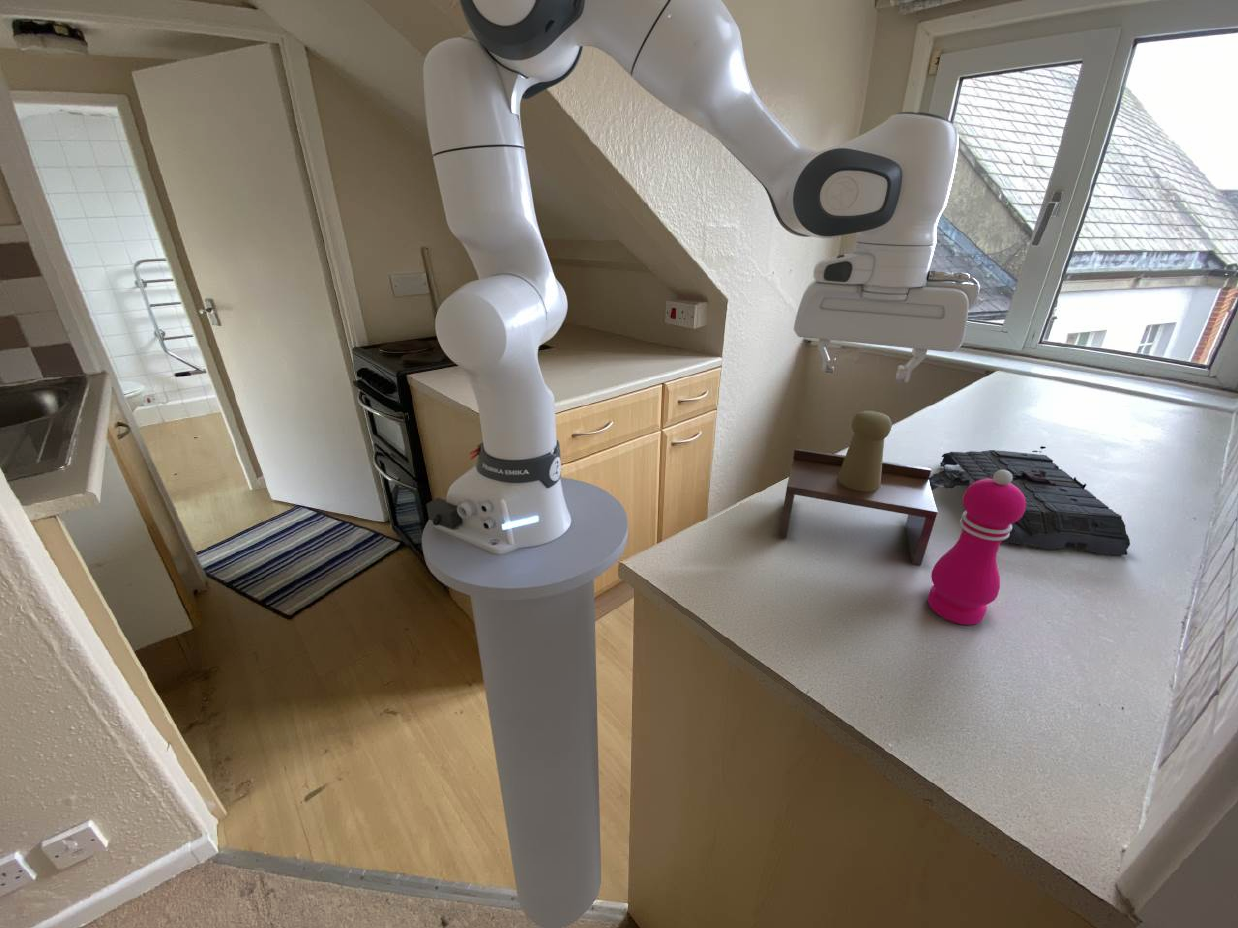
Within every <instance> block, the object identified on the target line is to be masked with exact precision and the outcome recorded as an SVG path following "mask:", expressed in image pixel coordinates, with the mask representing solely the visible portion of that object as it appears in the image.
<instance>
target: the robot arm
mask: <svg viewBox="0 0 1238 928" xmlns="http://www.w3.org/2000/svg"><path fill="white" fill-rule="evenodd" d="M459 3H460V7H461V10H462V13H463V16H464V18H465V21H466V22H467V25H468V26H469V29H468V30H467V32H465V33H464V34H462V35H461V37H453V38H448V39H445V40H442V41H440V42H439V43H437V44H436V45H434V46H433V47H432V48H431V49H430V50H429V51H428V53H427V55H426V56H425V58H424V61H423V65H422V66H423V67H422V80H423V82H422V83H423V99H424V112H425V119H426V126H427V134H428V139H429V140H428V141H429V145H430V150H431V155H432V159H433V164H434V169H435V173H436V177H437V183H438V188H439V192H440V197H441V201H442V207H443V210H444V215H445V220H446V224H447V226H448V228H449V230H450V232H451V233H452V235H453V236H454V237H455V238H456V239H457V240H458V241H460V243H461V244H462V246H463V248H465V251H466V252H467V254H468V256H469V258H470V260H471V262H472V265H473V267H474V269H475V272H476V275H477V277H478V279H475V280H472V281H469V282H466V283H465V284H463V285H461V286H460V287H459V288H458V289H456V290H455V291H454V292H452V293H451V294H450V295H449V296H448V297H447V298H446V299H444V300H443V302H442V303H441V304H440V305H439V307H438V309H437V312H436V316H435V323H434V325H435V327H434V328H435V334H436V338H437V341H438V343H439V345H440V347H441V349H442V351H443V352H444V354H445V355H446V356H447V357H448V358H449V360H451V361H452V362H453V363H454V364H456V365H457V366H459V367H460V368H461V369H462V370H463V372H464V374H465V375H466V377H467V380H468V382H469V384H470V386H471V388H472V391H473V394H474V397H475V401H476V405H477V410H478V416H479V423H480V428H481V429H480V431H481V437H482V442H481V443H479V444H478V445H476V446H477V447H476V448H475V449H473V450H471V451H470V452H469V453H468V455H470V457H469V460H471V461H472V460H473V459H475V458H476V457H478V458H477V461H476V464H474V465H473V466H472V467H471V468H469V469H468V470H467V471H466V472H464V473H463V474H462V475H460V476H459V477H458V478H457V479H455V481H454V482H452V484H451V485H450V486H449V488H448V489H447V494H446V499H443V498H441V497H436V498H434V499H433V500H430V501H429V502H427V503H426V504H425V506H426V510H427V515H428V521H429V520H432V521H433V524H434V527H435V528H436V529H438V530H441V531H443V532H445V533H447V534H450V535H452V536H454V537H457V538H459V539H461V540H463V541H466V542H468V543H470V544H472V545H475V546H477V547H479V548H481V549H484V550H486V551H488V552H491V553H493V554H496V555H501V554H505V553H508V552H511V551H514V550H516V549H521V548H528V547H534V546H539V545H543V544H546V543H549V542H551V541H553V540H555V539H557V538H559V537H560V536H561V535H563V534H564V533H565V532H566V531H567V530H568V528H569V527H570V524H571V516H570V514H569V511H568V509H567V506H566V503H565V499H564V495H563V491H562V486H561V480H560V477H562V457H561V446H560V445H561V444H560V441H559V440H558V439H557V423H556V420H557V419H556V405H555V403H556V402H555V401H556V400H555V395H554V393H553V391H552V390H551V388H549V387H548V385H546V382H545V380H544V377H543V374H542V370H541V367H540V363H539V358H538V357H539V355H538V354H539V353H538V352H539V348H540V346H542V345H543V344H545V343H546V342H548V341H550V340H551V339H553V338H554V337H555V335H556V334H557V333H558V331H559V330H560V328H561V327H562V325H563V323H564V321H565V319H566V316H567V312H568V298H567V294H566V291H565V289H564V288H563V285H561V283H560V282H559V280H558V279H557V278H556V275H555V272H554V270H553V267H552V264H551V261H550V258H549V256H548V253H547V250H546V247H545V243H544V241H543V238H542V235H541V232H540V231H541V230H540V227H539V225H538V221H537V216H536V211H535V206H534V199H533V192H532V186H531V180H530V174H529V173H530V172H529V167H528V162H527V161H528V160H527V155H526V149H525V148H526V147H525V141H524V136H523V129H522V123H521V121H522V120H521V102H522V99H523V100H528V99H529V100H530V99H531V98H532V97H535V96H536V95H538V94H540V93H542V92H543V91H545V90H547V89H549V88H551V87H554V86H556V85H558V84H559V83H561V82H563V81H565V80H566V79H567V78H568V77H569V76H570V75H571V74H572V73H573V72H574V70H575V69H576V67H577V66H578V64H579V62H580V60H581V57H582V55H583V49H584V47H592V48H596V49H597V50H600V51H602V52H603V53H605V54H606V55H607V56H609V57H611V58H612V59H613V60H614V61H615V62H616V63H617V64H618V65H619V66H620V67H621V69H623V70H624V71H625V72H626V73H627V74H628V75H629V76H630V77H631V78H632V79H633V80H634V81H635V82H636V83H637V84H638V85H639V86H640V87H642V88H643V89H644V90H645V91H646V92H648V93H649V94H650V95H651V96H652V97H654V98H655V99H657V100H658V101H659V102H660V103H661V104H663V105H664V106H666V107H667V108H668V109H670V110H672V111H673V112H675V113H676V114H678V115H680V116H681V117H683V118H685V119H686V120H687V121H689V122H691V123H692V124H694V125H696V126H698V128H700V129H702V130H704V131H705V132H707V133H708V134H710V135H711V136H712V137H714V138H715V139H716V140H718V141H719V143H721V144H722V145H723V146H724V147H725V148H726V150H728V151H729V152H730V154H732V156H734V158H735V159H737V161H738V162H740V164H742V166H744V168H745V169H746V170H747V171H748V172H750V174H751V175H752V176H753V177H754V178H755V179H756V180H757V181H758V182H759V184H761V186H762V187H763V188H764V190H765V192H766V194H767V196H768V199H769V202H770V204H771V208H772V211H773V214H774V215H775V218H776V220H777V221H778V223H779V224H780V225H781V227H782V228H783V229H784V230H785V231H786V232H788V233H790V234H792V235H795V236H797V237H803V238H805V237H806V238H807V237H810V238H819V239H835V238H840V237H842V236H845V235H851V234H856V242H855V245H854V250H853V251H852V252H850V253H843V254H838V255H836V256H833V257H828V258H825V259H822V260H819V261H818V262H816V264H815V265H814V268H813V278H814V280H813V281H811V282H810V283H809V284H808V286H807V287H806V289H805V290H804V292H803V295H802V297H801V300H800V303H799V305H798V308H797V313H796V315H795V320H794V324H793V331H794V333H795V335H796V336H797V337H799V338H804V339H806V338H807V339H814V340H818V344H817V348H818V351H819V354H820V356H821V359H822V360H823V362H822V366H821V367H822V368H821V373H826V374H827V373H828V374H833V373H834V369H835V368H834V367H835V363H836V357H830V355H829V353H828V350H827V349H828V348H829V347H830V344H831V341H835V342H846V343H855V344H863V345H864V344H867V345H876V346H886V347H895V348H906V349H912V350H911V354H912V357H911V358H910V360H908V361H907V363H906V364H904V365H900V364H898V366H897V369H896V370H897V372H896V373H895V382H903V383H904V382H905V383H909V381H910V379H911V374H912V371H913V370H915V369H916V367H918V366H919V365H920V364H921V363H922V362H923V361H924V360H925V359H926V356H927V352H928V351H935V352H946V353H947V352H948V353H953V352H955V351H957V350H958V349H959V348H960V347H962V345H963V342H964V339H965V335H966V330H967V325H968V319H969V318H968V317H969V312H970V310H971V309H972V308H973V307H974V306H975V305H976V304H977V300H978V297H979V294H980V290H981V289H980V288H981V286H980V283H979V281H978V280H977V279H975V278H974V277H972V276H971V274H970V273H967V272H947V271H946V272H945V271H940V270H939V271H936V270H930V267H931V263H932V260H933V256H934V252H935V248H936V245H937V228H938V223H939V220H940V217H941V215H942V213H943V212H944V210H945V208H946V206H947V203H948V201H949V200H948V199H949V197H950V191H951V188H952V184H953V179H954V176H955V170H956V164H957V160H958V159H957V158H958V153H959V151H958V150H959V132H958V128H957V126H956V124H954V122H952V121H950V120H949V119H948V118H946V117H944V116H941V115H938V114H936V113H935V114H934V113H930V112H925V111H924V112H923V111H919V112H918V111H917V112H915V111H901V112H898V113H894V114H892V115H891V116H889V117H888V118H887V119H886V120H885V121H883V122H882V123H880V124H879V125H877V126H876V127H874V128H872V129H870V130H868V131H867V132H864V133H862V134H861V135H858V136H856V137H854V138H852V139H850V140H847V141H845V142H841V143H839V144H836V145H834V146H831V147H828V148H824V149H822V150H819V151H817V150H814V149H811V148H809V147H807V146H805V145H804V144H802V143H800V141H798V140H797V139H796V138H795V136H794V135H793V134H792V133H791V132H790V131H789V130H788V129H787V128H786V127H785V125H784V124H783V123H782V121H780V120H779V119H778V118H777V117H776V116H775V114H774V113H773V112H772V111H771V110H770V109H769V108H768V106H767V105H765V104H764V102H763V101H762V100H761V99H760V97H759V96H758V94H757V92H756V90H755V89H754V86H753V85H752V82H751V79H750V76H749V73H748V69H747V65H746V60H745V54H744V48H743V41H742V36H741V31H740V27H739V26H738V24H737V22H736V21H735V18H734V17H733V16H732V14H731V13H730V11H729V10H728V8H727V6H726V4H725V3H724V2H723V0H459Z"/></svg>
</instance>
